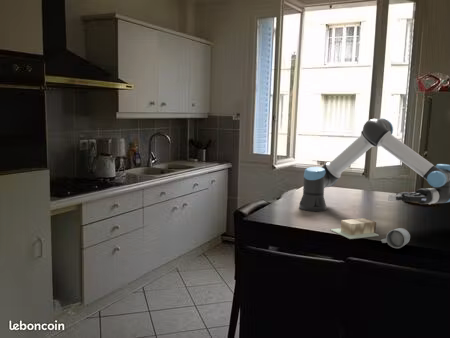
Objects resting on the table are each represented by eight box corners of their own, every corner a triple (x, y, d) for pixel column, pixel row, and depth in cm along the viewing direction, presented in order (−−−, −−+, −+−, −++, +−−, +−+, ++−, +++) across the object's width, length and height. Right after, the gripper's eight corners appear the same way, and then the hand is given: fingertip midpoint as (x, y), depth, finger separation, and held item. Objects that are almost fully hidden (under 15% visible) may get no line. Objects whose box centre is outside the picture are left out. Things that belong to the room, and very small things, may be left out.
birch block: (365, 218, 191) (341, 220, 185) (376, 221, 184) (351, 224, 179) (364, 228, 191) (340, 230, 186) (375, 232, 185) (350, 235, 180)
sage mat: (357, 227, 194) (357, 226, 194) (378, 235, 181) (379, 234, 181) (330, 230, 188) (330, 229, 188) (350, 239, 175) (350, 237, 175)
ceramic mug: (410, 245, 168) (412, 228, 168) (404, 250, 162) (405, 231, 161) (385, 240, 175) (386, 223, 174) (378, 244, 169) (379, 226, 168)
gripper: (436, 206, 193) (399, 209, 184) (414, 200, 205) (378, 202, 196) (438, 191, 192) (401, 193, 183) (416, 186, 204) (380, 187, 195)
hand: (389, 198), depth 190 cm, fingers closed
